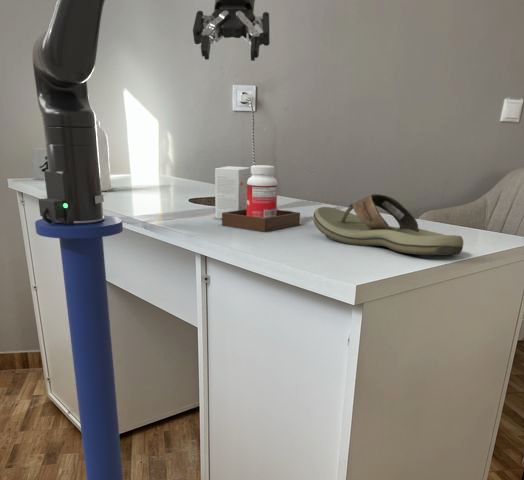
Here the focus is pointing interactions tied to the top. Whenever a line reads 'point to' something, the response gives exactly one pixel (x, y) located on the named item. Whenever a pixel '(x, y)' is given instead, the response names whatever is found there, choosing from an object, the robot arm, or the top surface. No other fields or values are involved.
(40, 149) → the icon cube
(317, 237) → the top surface
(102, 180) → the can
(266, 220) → the tray
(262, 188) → the pill bottle
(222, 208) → the small box
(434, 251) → the flip flop
